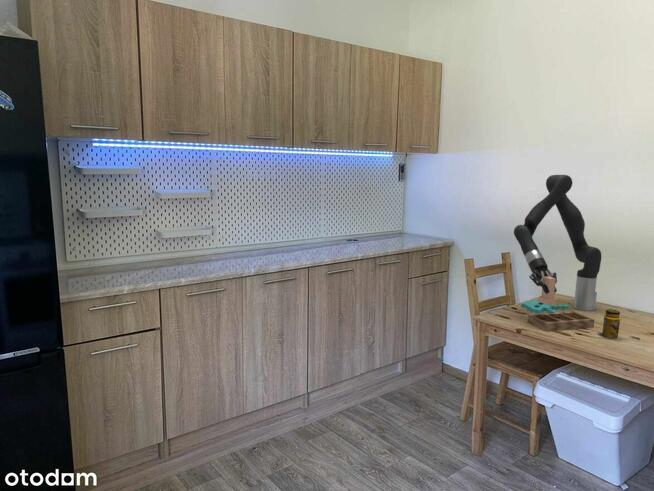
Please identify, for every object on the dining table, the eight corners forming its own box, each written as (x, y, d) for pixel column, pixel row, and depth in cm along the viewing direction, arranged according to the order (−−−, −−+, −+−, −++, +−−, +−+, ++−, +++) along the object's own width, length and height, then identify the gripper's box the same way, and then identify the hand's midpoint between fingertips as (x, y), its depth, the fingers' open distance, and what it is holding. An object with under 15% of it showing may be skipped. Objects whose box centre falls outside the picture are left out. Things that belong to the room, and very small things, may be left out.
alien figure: (568, 309, 253) (529, 302, 265) (568, 305, 253) (529, 298, 265) (558, 318, 238) (517, 310, 250) (558, 313, 237) (517, 306, 250)
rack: (572, 318, 235) (573, 311, 235) (593, 327, 223) (594, 319, 222) (527, 322, 229) (528, 314, 228) (546, 331, 217) (546, 323, 216)
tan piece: (538, 301, 224) (540, 276, 223) (546, 300, 226) (549, 276, 224) (547, 304, 219) (549, 279, 217) (555, 304, 220) (558, 278, 218)
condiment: (619, 340, 206) (622, 314, 204) (596, 337, 210) (599, 311, 208) (618, 335, 212) (621, 309, 210) (596, 332, 216) (599, 306, 214)
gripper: (527, 257, 224) (542, 289, 215) (552, 256, 228) (569, 287, 218) (519, 266, 230) (533, 297, 221) (544, 265, 234) (559, 296, 224)
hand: (551, 292), depth 219 cm, fingers closed on tan piece, 3 cm apart
